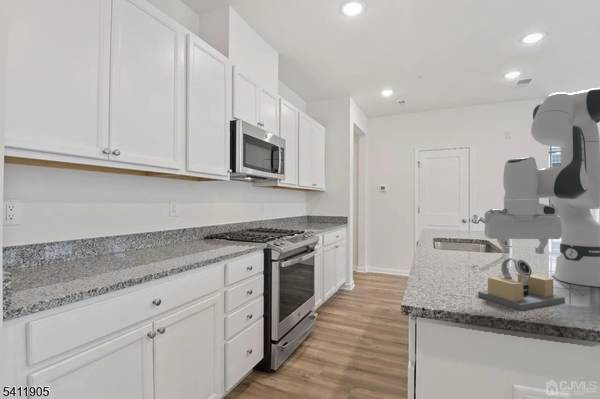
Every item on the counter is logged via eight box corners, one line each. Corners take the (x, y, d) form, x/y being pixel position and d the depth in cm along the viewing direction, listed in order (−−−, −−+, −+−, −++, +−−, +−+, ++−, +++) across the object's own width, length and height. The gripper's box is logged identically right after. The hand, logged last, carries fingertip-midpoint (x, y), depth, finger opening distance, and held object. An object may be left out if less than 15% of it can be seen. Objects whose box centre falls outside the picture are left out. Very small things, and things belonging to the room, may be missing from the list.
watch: (522, 298, 89) (522, 261, 89) (496, 290, 97) (496, 256, 97) (535, 296, 91) (535, 260, 91) (509, 289, 98) (509, 255, 98)
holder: (519, 290, 102) (519, 271, 102) (564, 302, 90) (564, 280, 90) (478, 296, 95) (478, 276, 95) (520, 310, 83) (521, 286, 83)
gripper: (488, 209, 92) (489, 254, 92) (565, 208, 88) (566, 255, 88) (480, 209, 98) (481, 251, 98) (551, 208, 94) (552, 252, 94)
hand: (522, 253), depth 93 cm, fingers open, 8 cm apart
